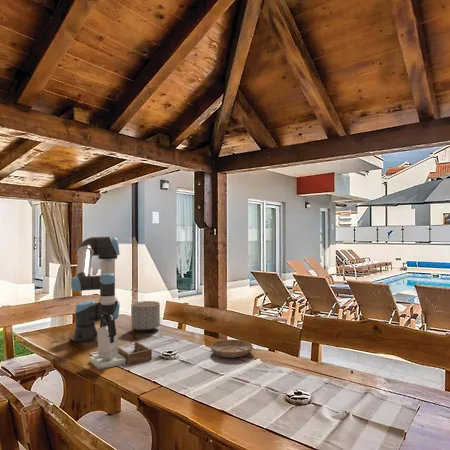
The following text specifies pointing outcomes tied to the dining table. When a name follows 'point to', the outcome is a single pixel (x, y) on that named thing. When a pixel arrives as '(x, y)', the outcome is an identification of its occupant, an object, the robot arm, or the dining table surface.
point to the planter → (145, 315)
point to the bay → (136, 353)
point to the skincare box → (106, 344)
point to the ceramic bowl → (231, 348)
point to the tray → (107, 361)
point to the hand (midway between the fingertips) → (107, 346)
